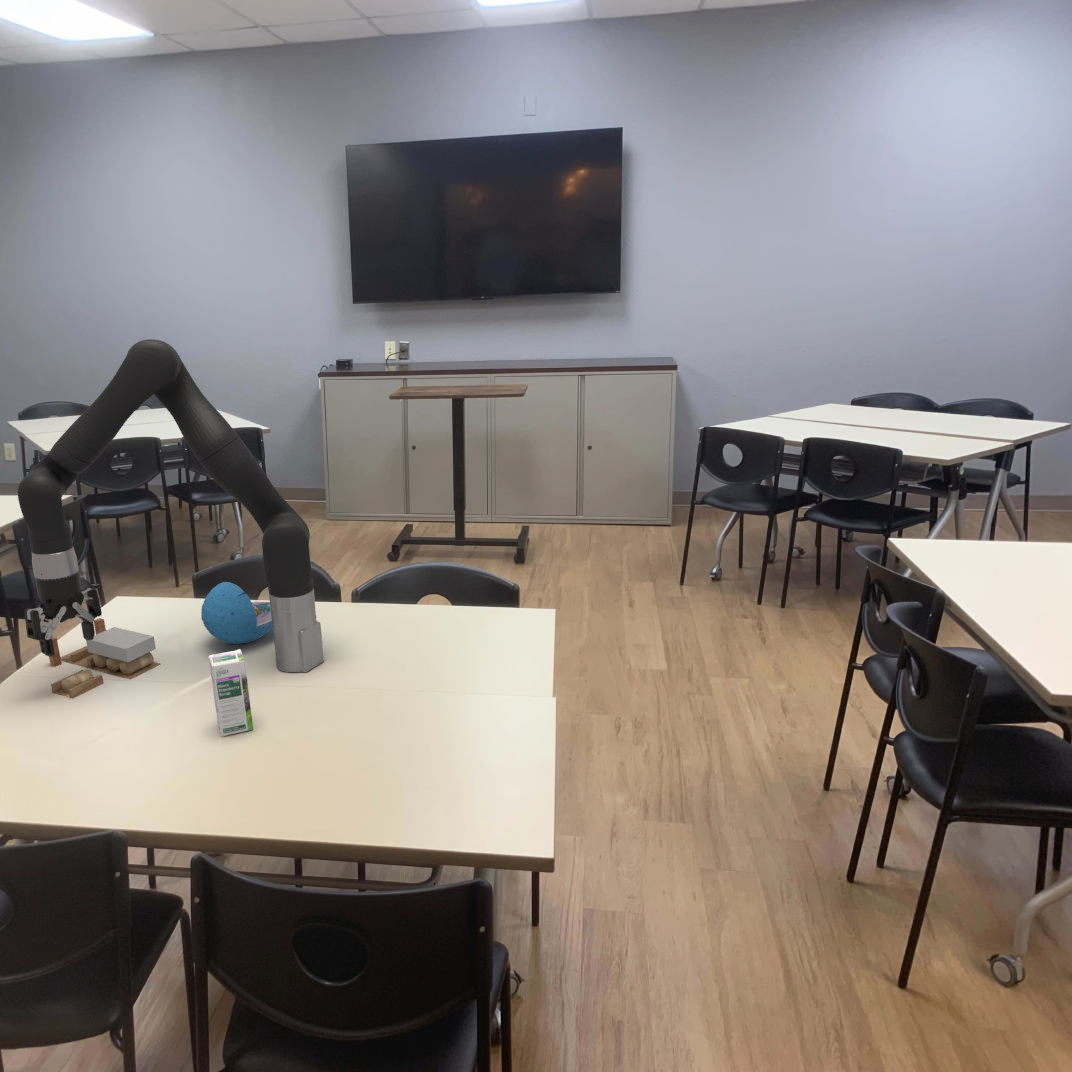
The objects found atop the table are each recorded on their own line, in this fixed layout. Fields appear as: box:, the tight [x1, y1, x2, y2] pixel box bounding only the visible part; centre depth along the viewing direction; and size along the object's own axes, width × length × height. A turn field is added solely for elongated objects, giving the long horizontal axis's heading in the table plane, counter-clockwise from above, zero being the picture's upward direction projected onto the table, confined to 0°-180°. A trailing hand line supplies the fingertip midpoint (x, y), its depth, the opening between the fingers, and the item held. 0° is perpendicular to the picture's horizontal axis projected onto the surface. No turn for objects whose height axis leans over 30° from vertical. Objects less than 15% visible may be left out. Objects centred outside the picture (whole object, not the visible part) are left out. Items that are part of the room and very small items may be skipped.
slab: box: [85, 626, 156, 662], centre depth 172 cm, size 12×7×3 cm, turn 65°
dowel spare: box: [61, 669, 95, 694], centre depth 164 cm, size 3×5×3 cm, turn 156°
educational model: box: [201, 581, 273, 645], centre depth 187 cm, size 16×19×15 cm
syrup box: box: [208, 648, 254, 738], centre depth 150 cm, size 6×6×14 cm
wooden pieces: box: [48, 617, 162, 699], centre depth 172 cm, size 23×21×7 cm
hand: (69, 647), depth 162 cm, fingers open, 8 cm apart
